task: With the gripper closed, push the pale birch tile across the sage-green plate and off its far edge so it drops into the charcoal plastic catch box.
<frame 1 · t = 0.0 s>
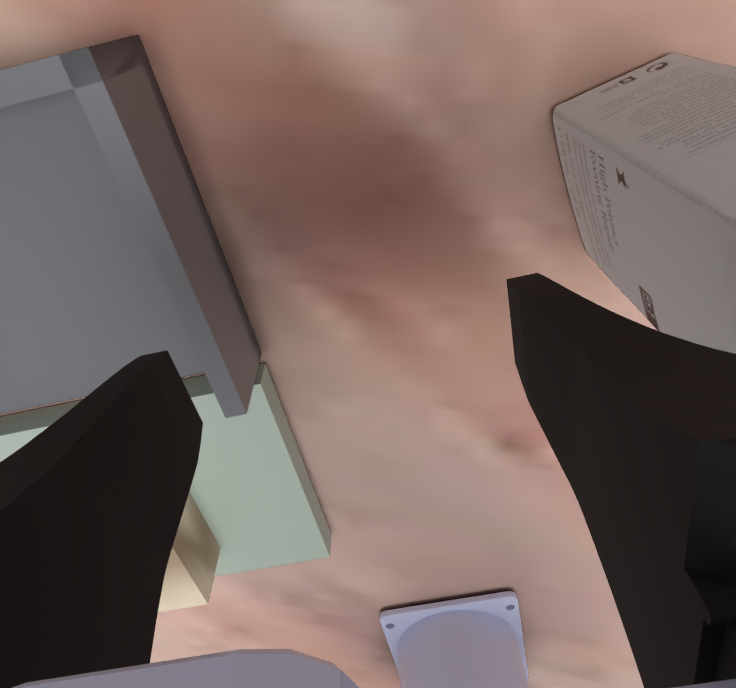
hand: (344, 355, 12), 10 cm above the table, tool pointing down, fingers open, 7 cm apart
catch box: (6, 264, 22), on the table
far plate: (142, 486, 28), on the table
skincare box: (627, 162, 20), on the table
birch tile: (136, 517, 27), point 1 cm above the table, touching far plate
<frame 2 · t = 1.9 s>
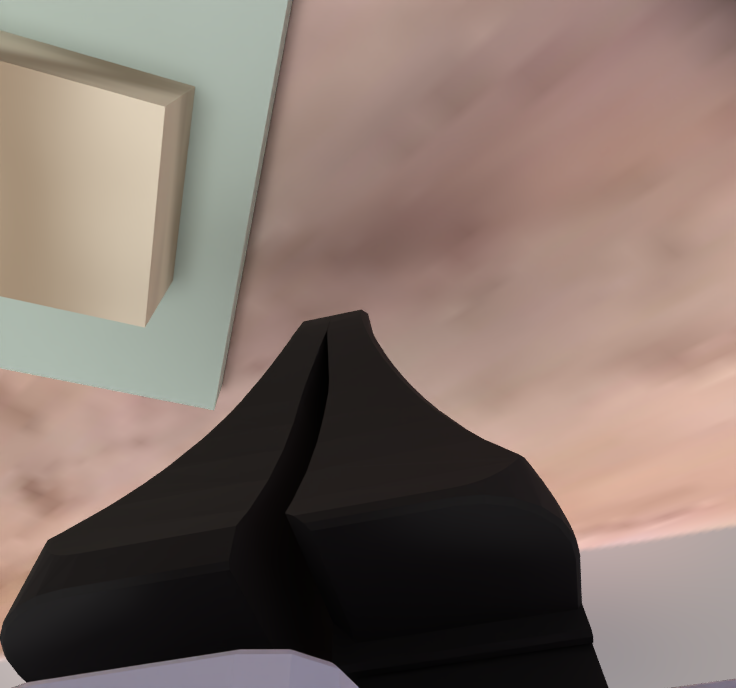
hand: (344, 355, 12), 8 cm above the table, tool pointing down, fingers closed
far plate: (79, 147, 18), on the table
birch tile: (77, 164, 17), point 1 cm above the table, touching far plate
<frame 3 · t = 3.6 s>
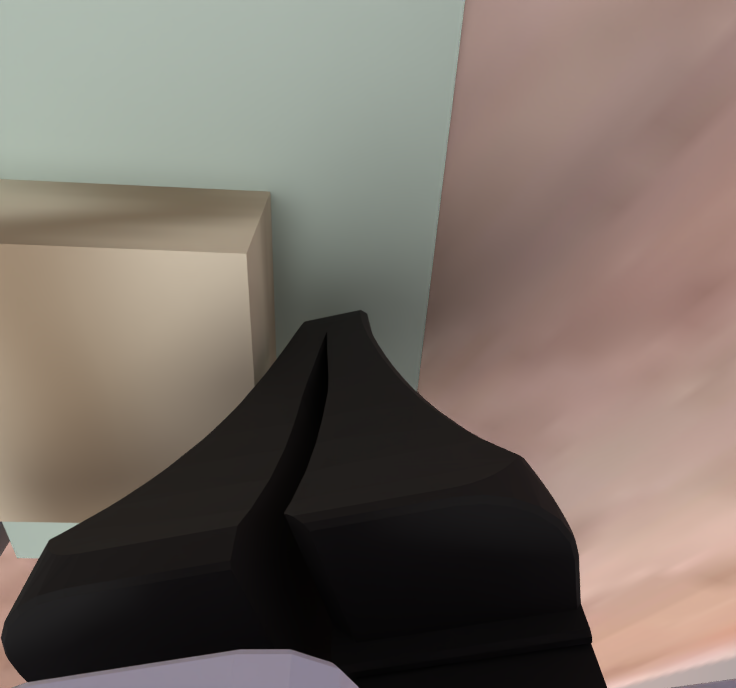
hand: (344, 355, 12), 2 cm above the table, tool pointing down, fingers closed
far plate: (191, 294, 14), on the table
birch tile: (136, 320, 13), point 2 cm above the table, touching far plate, gripper
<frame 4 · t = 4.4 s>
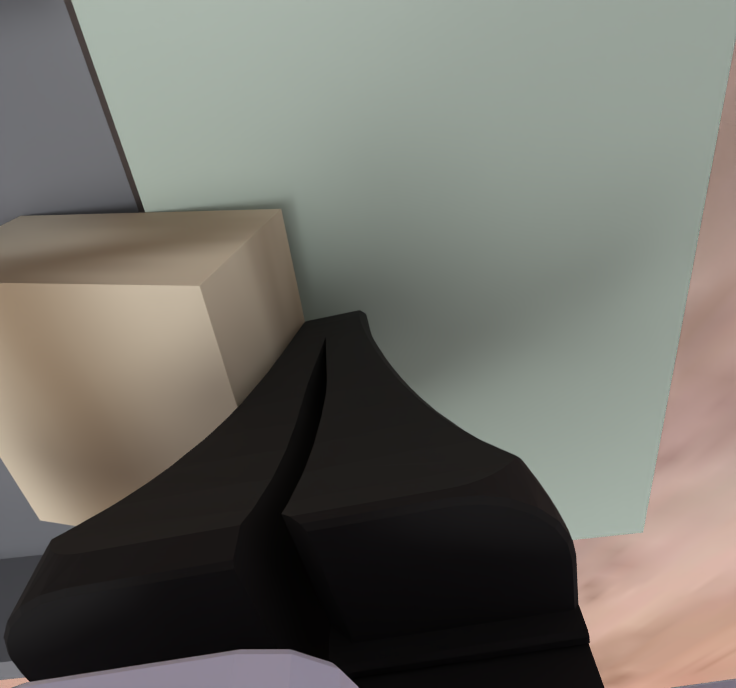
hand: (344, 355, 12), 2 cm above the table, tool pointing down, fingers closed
far plate: (428, 289, 14), on the table
birch tile: (185, 341, 13), point 2 cm above the table, tilted 17°, touching gripper
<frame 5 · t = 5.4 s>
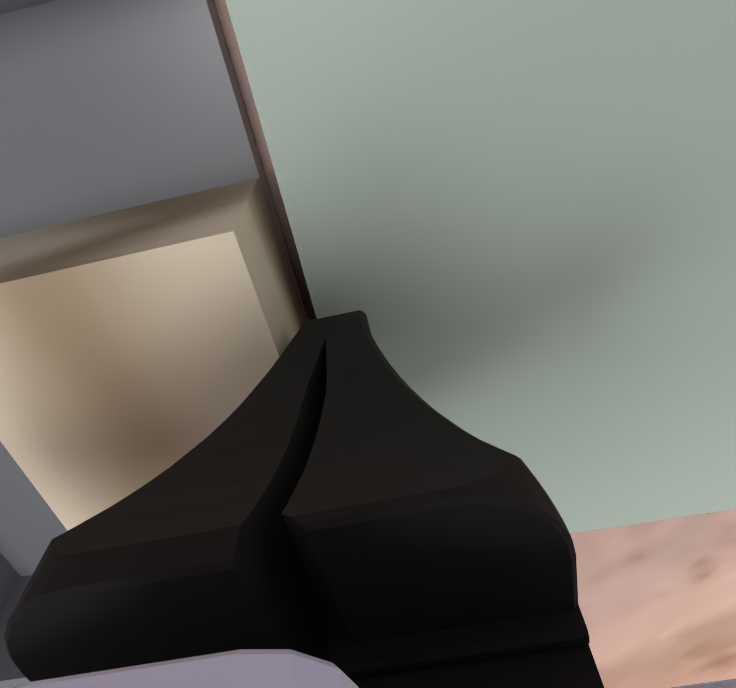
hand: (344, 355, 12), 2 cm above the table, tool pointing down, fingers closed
catch box: (76, 352, 15), on the table
far plate: (549, 262, 14), on the table
birch tile: (177, 328, 14), point 1 cm above the table, touching catch box, gripper
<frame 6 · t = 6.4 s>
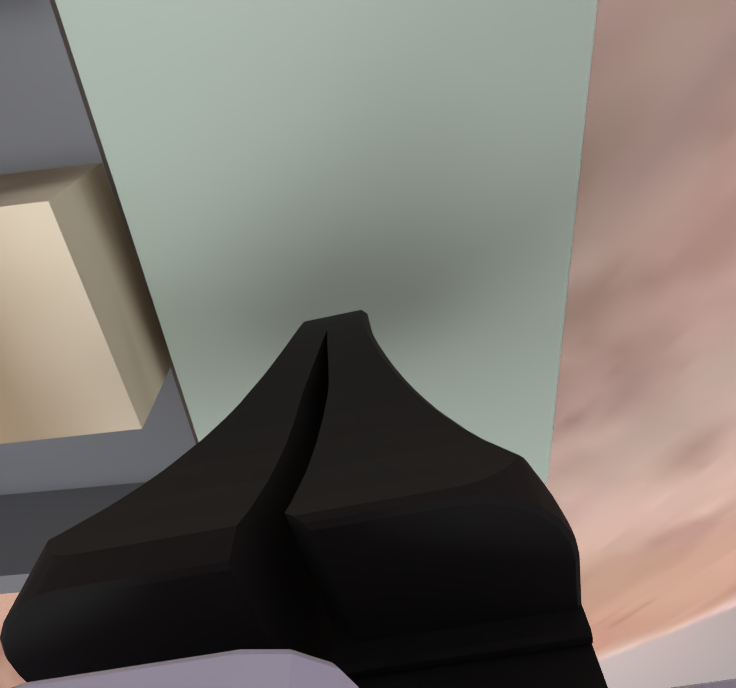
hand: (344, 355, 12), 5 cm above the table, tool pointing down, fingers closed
far plate: (359, 259, 16), on the table
birch tile: (33, 285, 16), point 1 cm above the table, touching catch box
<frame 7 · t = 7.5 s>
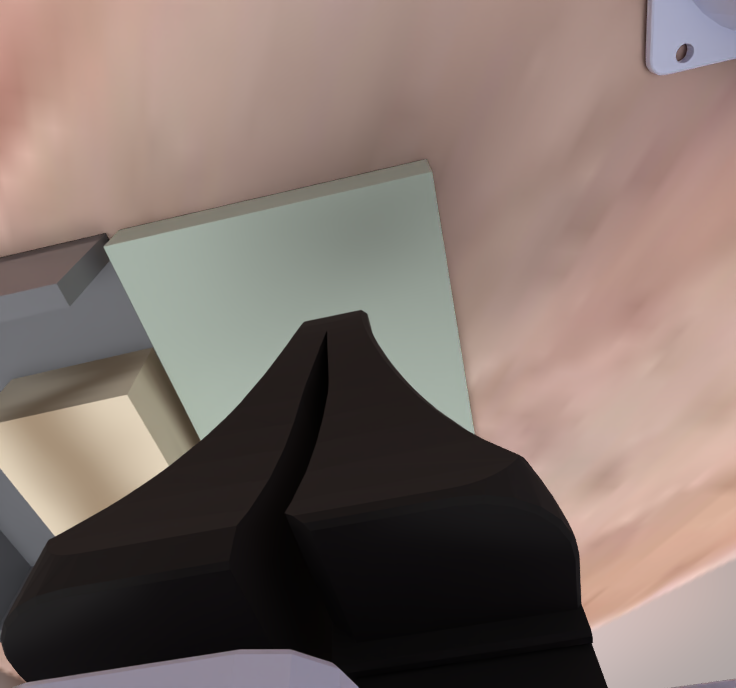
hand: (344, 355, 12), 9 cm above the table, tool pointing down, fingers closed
catch box: (60, 432, 25), on the table
far plate: (327, 379, 24), on the table
birch tile: (116, 421, 24), point 1 cm above the table, touching catch box
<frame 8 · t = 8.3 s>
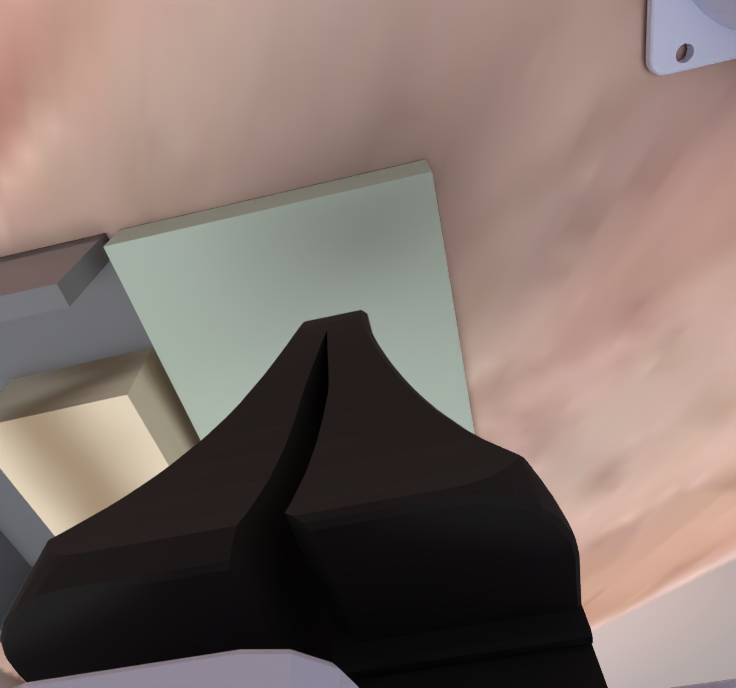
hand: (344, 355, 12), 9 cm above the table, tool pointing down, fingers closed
catch box: (60, 432, 25), on the table
far plate: (327, 379, 24), on the table
birch tile: (116, 421, 24), point 1 cm above the table, touching catch box
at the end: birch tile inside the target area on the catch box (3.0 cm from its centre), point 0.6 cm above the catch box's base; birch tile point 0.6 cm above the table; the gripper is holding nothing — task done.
